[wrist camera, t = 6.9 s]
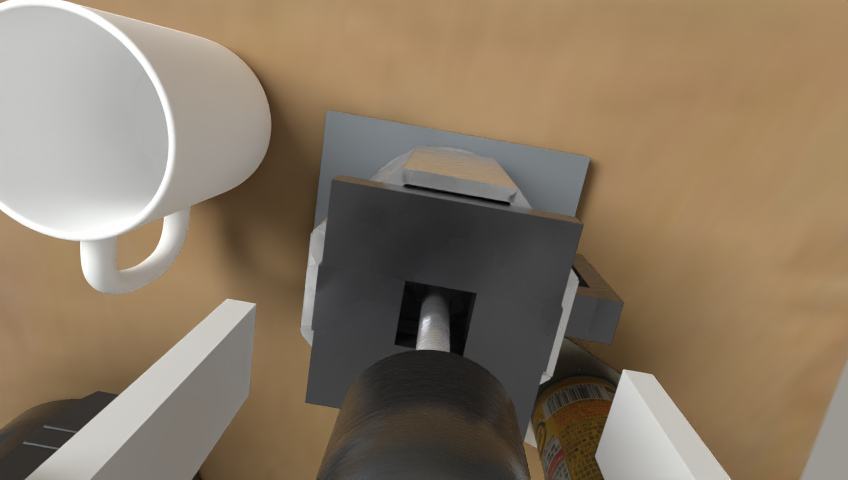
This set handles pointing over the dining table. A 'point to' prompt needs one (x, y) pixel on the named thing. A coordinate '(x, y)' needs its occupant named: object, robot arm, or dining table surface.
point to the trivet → (386, 140)
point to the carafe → (447, 274)
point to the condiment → (572, 414)
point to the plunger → (427, 407)
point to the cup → (119, 130)
